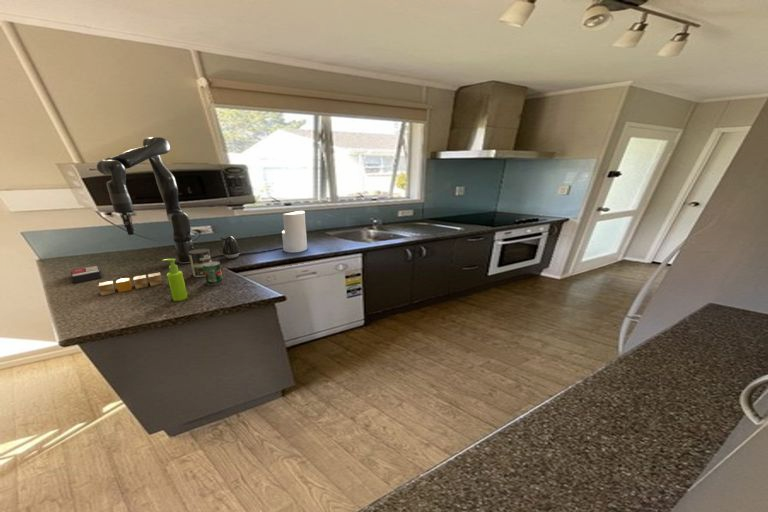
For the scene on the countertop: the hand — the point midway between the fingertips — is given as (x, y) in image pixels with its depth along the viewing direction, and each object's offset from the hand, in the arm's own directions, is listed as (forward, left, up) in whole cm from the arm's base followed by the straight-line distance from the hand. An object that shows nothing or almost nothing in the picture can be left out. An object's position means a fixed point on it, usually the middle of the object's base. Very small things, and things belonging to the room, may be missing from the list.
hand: (131, 232), depth 149 cm
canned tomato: (-30, +27, -27) cm, 49 cm away
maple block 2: (-5, +10, -27) cm, 29 cm away
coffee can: (-27, +9, -27) cm, 39 cm away
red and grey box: (+25, -23, -27) cm, 43 cm away
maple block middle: (+1, +10, -27) cm, 28 cm away
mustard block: (+7, +10, -27) cm, 29 cm away
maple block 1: (+14, +10, -27) cm, 32 cm away
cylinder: (-90, -7, -27) cm, 94 cm away
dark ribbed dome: (-47, -13, -27) cm, 56 cm away
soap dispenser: (-13, +38, -27) cm, 48 cm away
